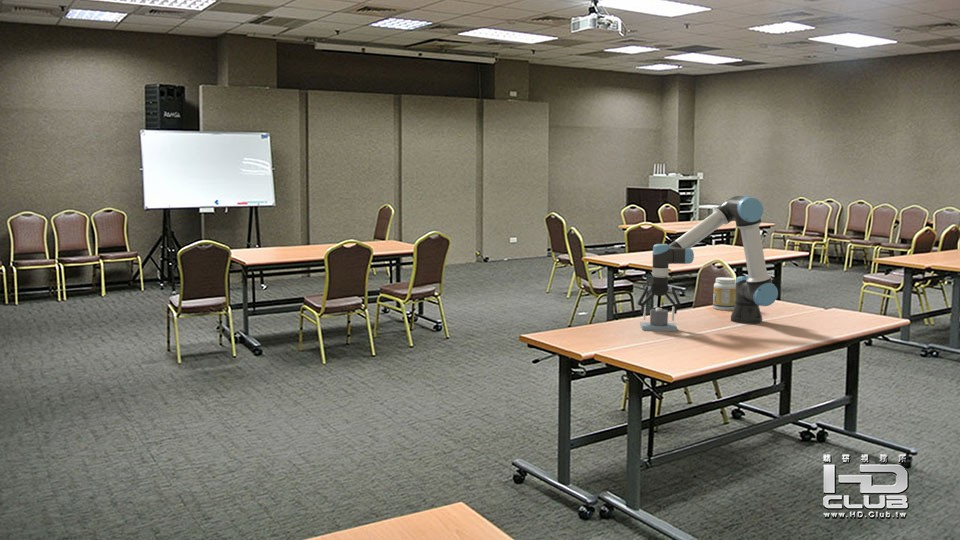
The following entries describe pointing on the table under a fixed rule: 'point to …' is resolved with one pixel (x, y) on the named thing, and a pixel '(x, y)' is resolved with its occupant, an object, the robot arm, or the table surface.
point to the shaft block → (658, 328)
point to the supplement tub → (724, 293)
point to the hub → (658, 317)
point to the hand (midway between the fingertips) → (658, 320)
